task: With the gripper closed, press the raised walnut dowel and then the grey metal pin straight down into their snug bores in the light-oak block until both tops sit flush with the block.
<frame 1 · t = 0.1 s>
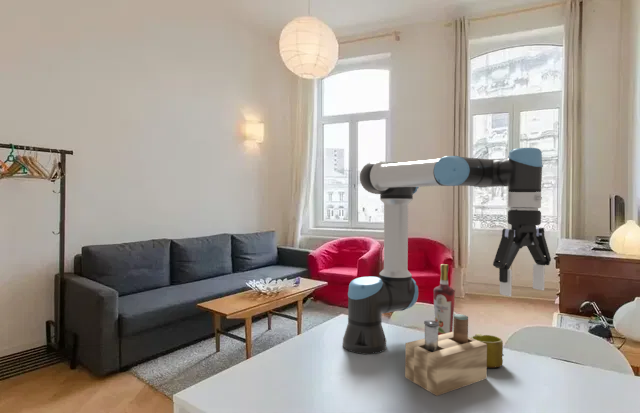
hand: (522, 292, 99), 28 cm above the table, fingers open, 13 cm apart
liquor: (443, 342, 139), on the table
mug: (484, 362, 123), on the table
oak block: (445, 377, 112), on the table
walnut peg: (460, 331, 114), point 13 cm above the table, slide at 7.0 cm
metal pin: (431, 338, 108), point 13 cm above the table, slide at 7.0 cm
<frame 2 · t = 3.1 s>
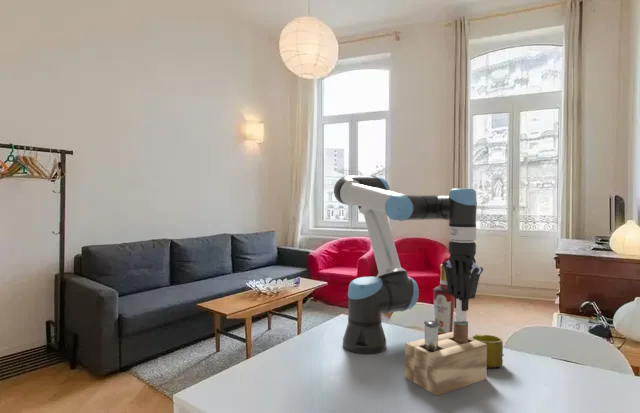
hand: (461, 320, 114), 16 cm above the table, fingers closed
walnut peg: (460, 336, 114), point 11 cm above the table, slide at 5.5 cm, touching gripper
everything else where it was.
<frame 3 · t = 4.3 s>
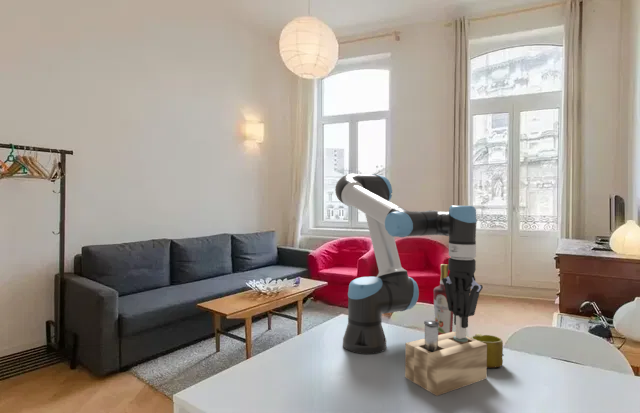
hand: (460, 337, 114), 11 cm above the table, fingers closed
walnut peg: (460, 353, 115), point 6 cm above the table, slide at 0.5 cm, touching gripper
everything else where it was.
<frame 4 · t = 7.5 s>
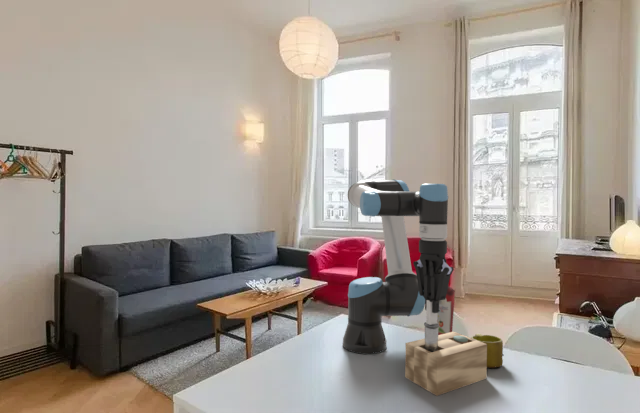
hand: (431, 323, 108), 17 cm above the table, fingers closed
walnut peg: (460, 353, 115), point 6 cm above the table, slide at 0.5 cm
metal pin: (431, 340, 108), point 12 cm above the table, slide at 6.6 cm, touching gripper
everything else where it was.
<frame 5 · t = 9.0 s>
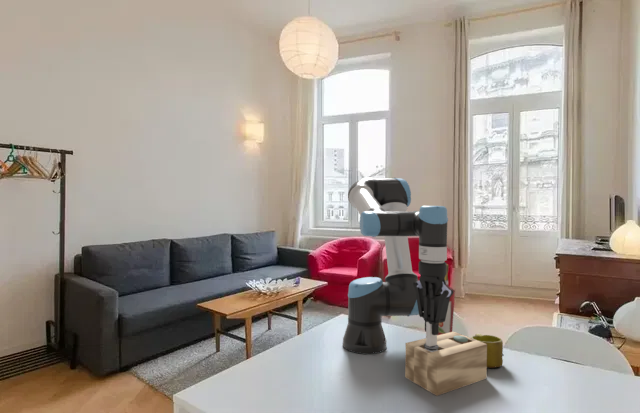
hand: (431, 344, 108), 11 cm above the table, fingers closed
metal pin: (431, 361, 109), point 6 cm above the table, slide at 0.5 cm, touching gripper
everything else where it was.
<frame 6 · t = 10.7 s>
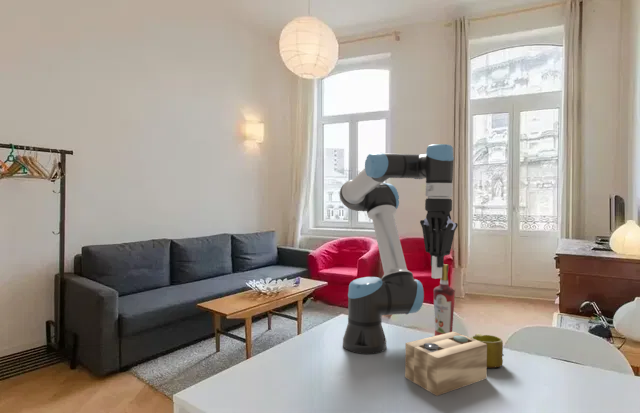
hand: (436, 277, 114), 28 cm above the table, fingers closed
metal pin: (431, 361, 109), point 6 cm above the table, slide at 0.5 cm
everything else where it was.
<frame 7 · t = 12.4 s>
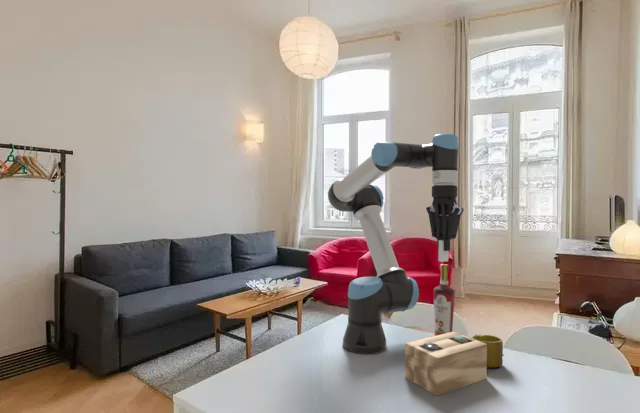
hand: (443, 260, 120), 32 cm above the table, fingers closed
nothing on the table moved.
at the end: walnut peg slide at 0.5 cm; metal pin slide at 0.5 cm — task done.
